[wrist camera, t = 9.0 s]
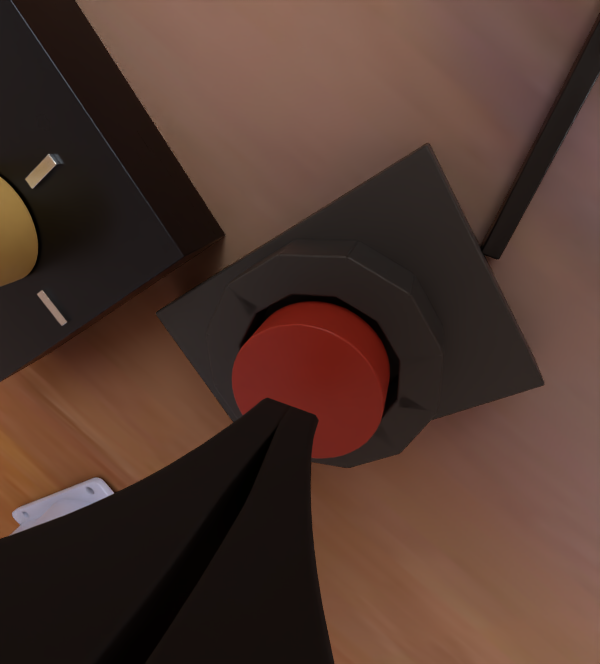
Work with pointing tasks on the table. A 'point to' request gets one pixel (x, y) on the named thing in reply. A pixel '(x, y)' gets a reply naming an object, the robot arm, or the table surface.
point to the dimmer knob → (15, 236)
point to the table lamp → (546, 144)
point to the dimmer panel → (83, 182)
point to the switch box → (374, 301)
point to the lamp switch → (317, 372)
